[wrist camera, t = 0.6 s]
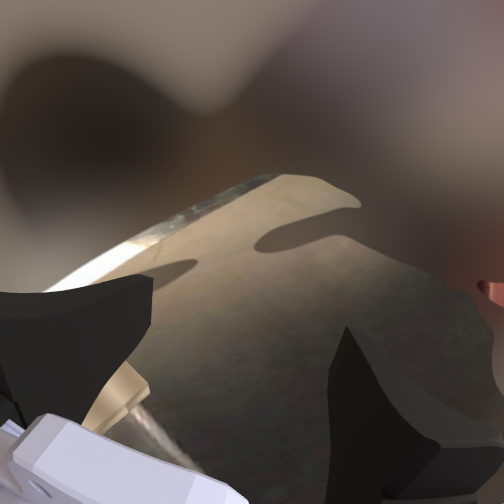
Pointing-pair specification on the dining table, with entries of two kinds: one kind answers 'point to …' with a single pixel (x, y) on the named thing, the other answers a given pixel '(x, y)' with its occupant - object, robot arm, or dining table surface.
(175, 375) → the dining table surface
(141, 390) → the holder
